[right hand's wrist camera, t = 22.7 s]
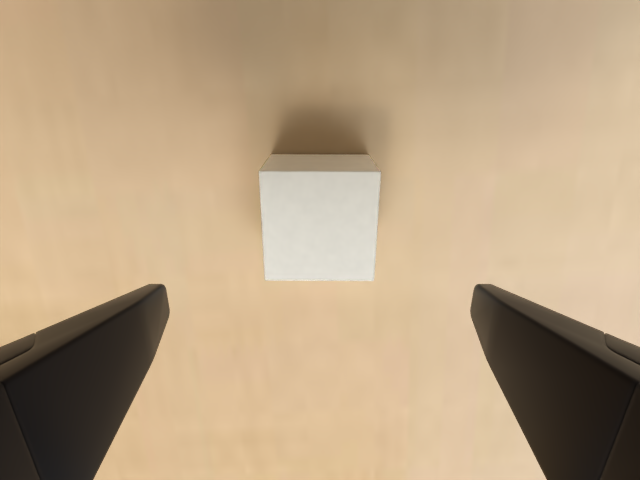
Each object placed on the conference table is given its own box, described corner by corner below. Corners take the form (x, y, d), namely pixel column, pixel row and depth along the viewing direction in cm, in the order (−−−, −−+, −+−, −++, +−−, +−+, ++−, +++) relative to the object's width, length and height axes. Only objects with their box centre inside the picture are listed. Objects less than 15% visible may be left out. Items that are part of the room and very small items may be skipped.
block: (364, 245, 21) (374, 281, 17) (274, 245, 21) (264, 280, 17) (369, 154, 19) (381, 171, 16) (270, 153, 19) (258, 170, 16)
